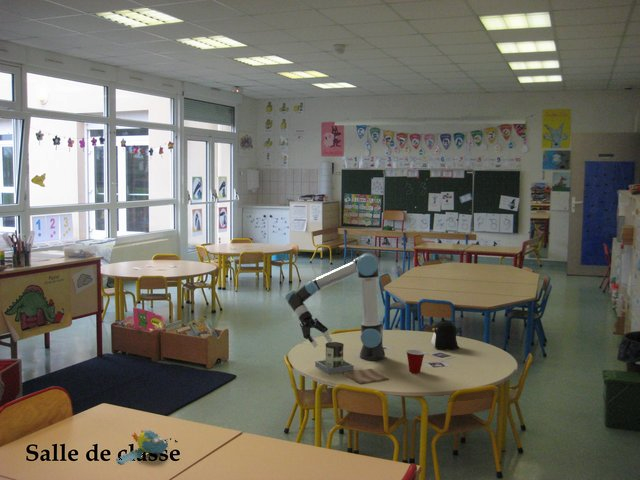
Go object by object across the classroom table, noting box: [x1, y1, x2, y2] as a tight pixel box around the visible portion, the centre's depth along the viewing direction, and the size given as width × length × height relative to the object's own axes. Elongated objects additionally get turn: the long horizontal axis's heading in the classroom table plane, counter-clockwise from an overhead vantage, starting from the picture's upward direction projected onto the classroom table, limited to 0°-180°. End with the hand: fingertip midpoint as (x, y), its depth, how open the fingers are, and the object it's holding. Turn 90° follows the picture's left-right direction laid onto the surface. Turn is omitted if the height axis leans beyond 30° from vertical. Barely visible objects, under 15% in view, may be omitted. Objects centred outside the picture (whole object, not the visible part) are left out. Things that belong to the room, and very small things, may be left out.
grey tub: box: [314, 359, 355, 375], centre depth 355 cm, size 16×16×3 cm
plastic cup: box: [405, 349, 426, 374], centre depth 350 cm, size 11×11×12 cm
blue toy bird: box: [116, 429, 169, 466], centre depth 244 cm, size 28×9×15 cm
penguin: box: [430, 319, 460, 350], centre depth 401 cm, size 18×18×17 cm
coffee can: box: [325, 341, 345, 368], centre depth 354 cm, size 10×10×14 cm
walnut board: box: [342, 368, 390, 385], centre depth 340 cm, size 18×18×1 cm
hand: (323, 344), depth 358 cm, fingers open, 13 cm apart
